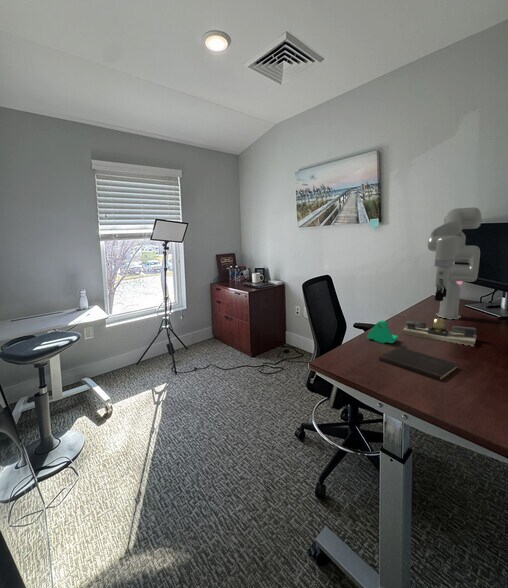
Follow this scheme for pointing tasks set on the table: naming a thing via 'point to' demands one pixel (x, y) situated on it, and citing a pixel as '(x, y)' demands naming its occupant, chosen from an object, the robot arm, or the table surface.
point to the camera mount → (382, 333)
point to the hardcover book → (419, 363)
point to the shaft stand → (441, 333)
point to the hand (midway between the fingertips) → (440, 298)
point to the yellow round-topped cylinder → (438, 324)
